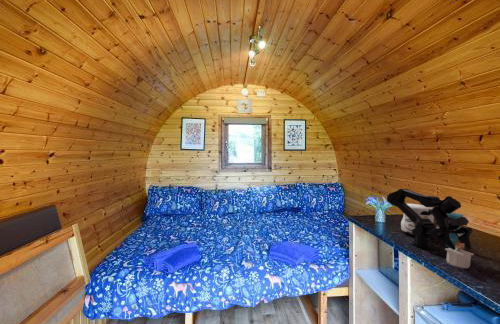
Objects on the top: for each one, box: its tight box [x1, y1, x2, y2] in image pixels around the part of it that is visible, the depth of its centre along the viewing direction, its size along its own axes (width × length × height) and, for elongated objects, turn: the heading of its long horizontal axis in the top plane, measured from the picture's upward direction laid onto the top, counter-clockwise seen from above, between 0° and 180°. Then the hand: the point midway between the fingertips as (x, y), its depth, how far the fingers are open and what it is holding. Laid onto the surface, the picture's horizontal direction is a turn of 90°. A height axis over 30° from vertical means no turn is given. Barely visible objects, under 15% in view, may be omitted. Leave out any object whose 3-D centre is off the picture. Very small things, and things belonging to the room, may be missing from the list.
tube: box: [444, 212, 464, 248], centre depth 133 cm, size 7×5×19 cm, turn 47°
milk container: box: [400, 203, 435, 237], centre depth 151 cm, size 17×17×18 cm
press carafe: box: [444, 247, 475, 269], centre depth 112 cm, size 8×10×6 cm
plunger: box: [455, 240, 466, 252], centre depth 112 cm, size 5×5×9 cm
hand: (462, 249), depth 110 cm, fingers open, 8 cm apart
